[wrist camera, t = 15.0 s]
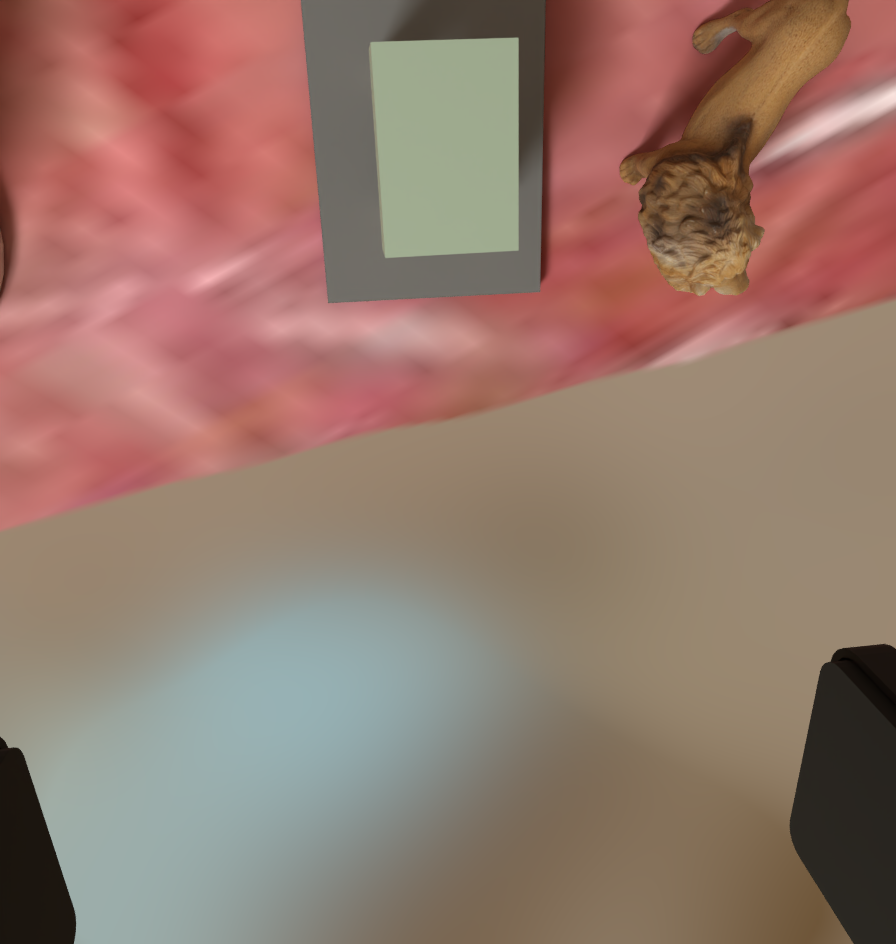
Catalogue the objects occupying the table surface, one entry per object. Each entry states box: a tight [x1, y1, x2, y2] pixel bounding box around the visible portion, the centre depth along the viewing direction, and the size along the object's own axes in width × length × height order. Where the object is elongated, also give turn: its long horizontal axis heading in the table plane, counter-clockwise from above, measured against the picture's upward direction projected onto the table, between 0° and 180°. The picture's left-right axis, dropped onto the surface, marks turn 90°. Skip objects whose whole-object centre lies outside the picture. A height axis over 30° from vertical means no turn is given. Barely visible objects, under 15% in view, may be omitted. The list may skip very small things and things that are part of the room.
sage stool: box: [369, 38, 519, 258], centre depth 31 cm, size 7×5×7 cm
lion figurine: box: [620, 0, 851, 296], centre depth 31 cm, size 15×5×9 cm, turn 158°
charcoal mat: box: [301, 0, 546, 303], centre depth 34 cm, size 10×14×1 cm
